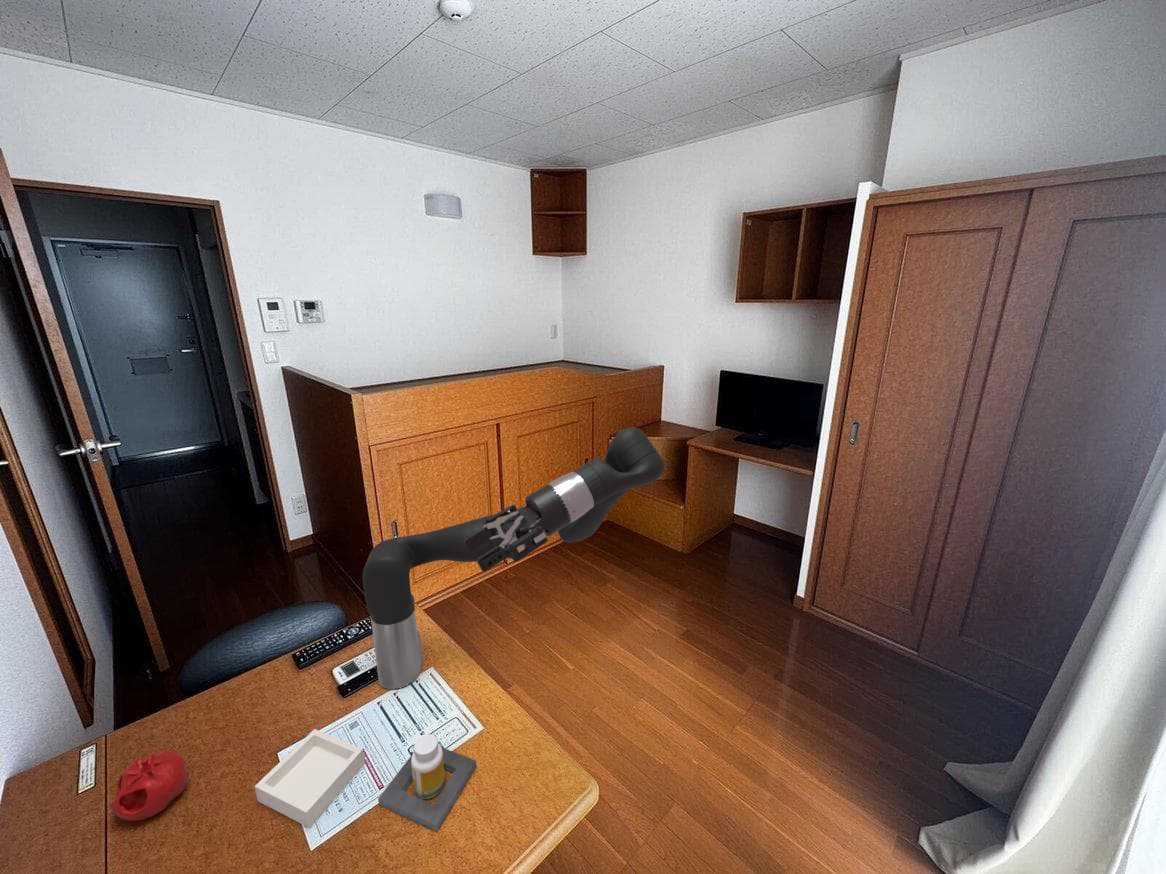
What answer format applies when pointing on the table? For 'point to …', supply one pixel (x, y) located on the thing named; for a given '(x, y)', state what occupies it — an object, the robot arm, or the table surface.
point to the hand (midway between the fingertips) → (472, 555)
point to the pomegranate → (149, 785)
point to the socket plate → (420, 808)
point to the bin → (310, 777)
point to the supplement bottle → (427, 767)
